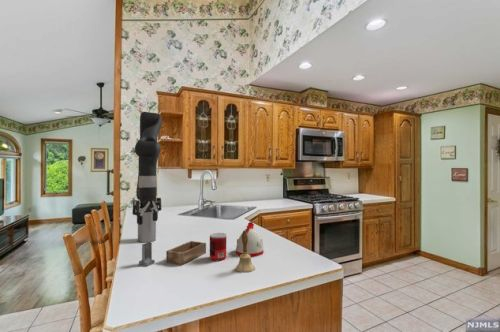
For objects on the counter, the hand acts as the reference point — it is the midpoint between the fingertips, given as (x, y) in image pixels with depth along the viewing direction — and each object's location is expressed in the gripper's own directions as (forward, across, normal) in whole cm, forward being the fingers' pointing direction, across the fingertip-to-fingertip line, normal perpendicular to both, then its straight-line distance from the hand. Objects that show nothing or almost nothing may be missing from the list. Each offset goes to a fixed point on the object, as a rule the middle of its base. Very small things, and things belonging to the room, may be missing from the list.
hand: (147, 222), depth 112 cm
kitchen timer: (+18, -33, +35) cm, 51 cm away
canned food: (+18, -19, +25) cm, 36 cm away
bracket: (+18, 0, 0) cm, 18 cm away
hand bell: (+18, -13, +42) cm, 47 cm away
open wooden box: (+18, -14, +11) cm, 25 cm away
